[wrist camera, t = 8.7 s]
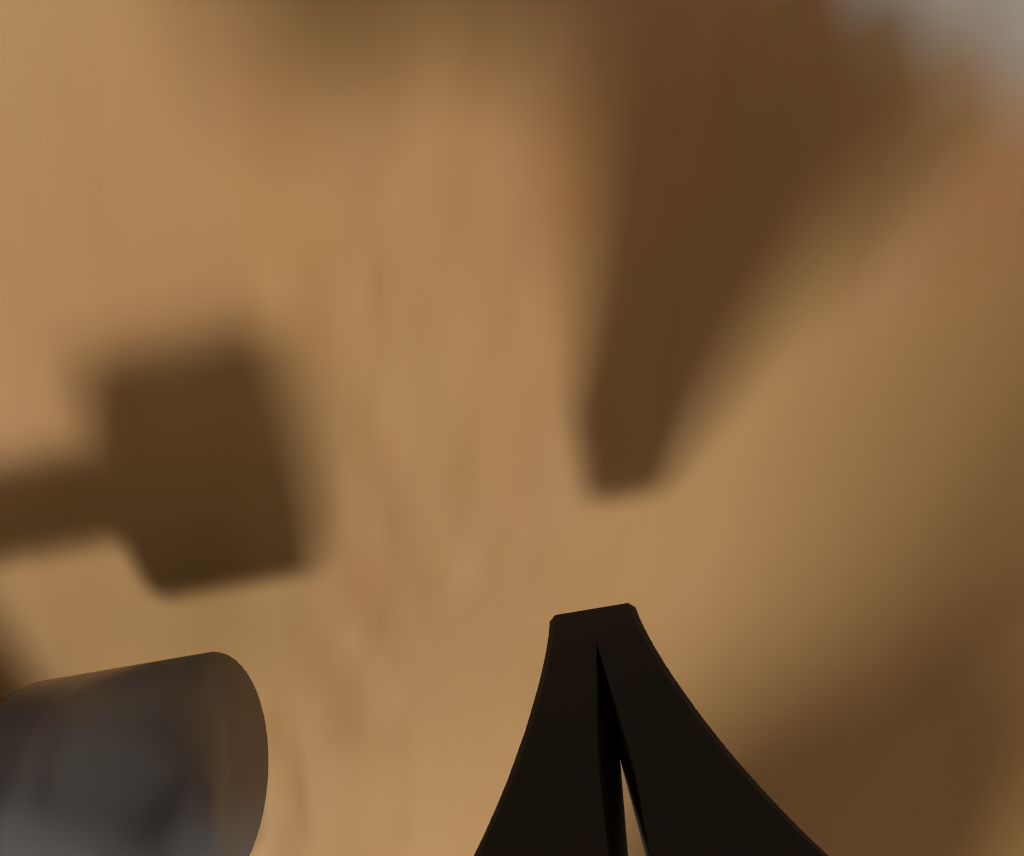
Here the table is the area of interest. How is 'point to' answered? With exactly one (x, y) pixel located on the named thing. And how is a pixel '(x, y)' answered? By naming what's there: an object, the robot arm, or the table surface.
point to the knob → (135, 762)
